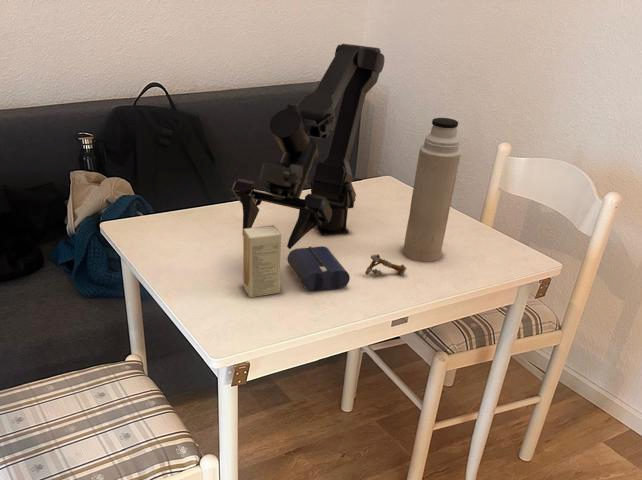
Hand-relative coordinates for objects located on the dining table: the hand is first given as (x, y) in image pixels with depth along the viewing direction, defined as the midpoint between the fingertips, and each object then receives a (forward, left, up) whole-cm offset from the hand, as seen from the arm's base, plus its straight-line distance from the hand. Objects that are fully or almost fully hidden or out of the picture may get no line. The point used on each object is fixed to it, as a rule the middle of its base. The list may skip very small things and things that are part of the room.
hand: (266, 242), depth 124 cm
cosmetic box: (+1, +1, -9) cm, 10 cm away
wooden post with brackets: (-25, 0, -9) cm, 27 cm away
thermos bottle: (-37, -8, -9) cm, 39 cm away
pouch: (-11, -2, -9) cm, 15 cm away
